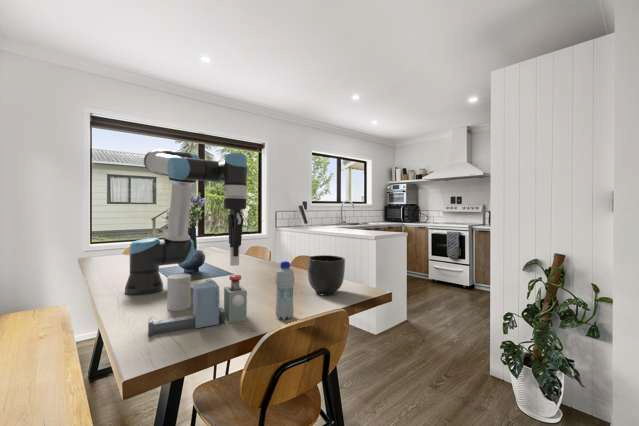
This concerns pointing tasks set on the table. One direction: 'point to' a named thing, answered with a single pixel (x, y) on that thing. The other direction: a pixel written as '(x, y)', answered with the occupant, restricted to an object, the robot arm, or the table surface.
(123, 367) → the table surface
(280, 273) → the bottle
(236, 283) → the plunger
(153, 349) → the table surface
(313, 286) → the planter
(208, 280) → the frog figurine
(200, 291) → the carriage
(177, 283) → the cup
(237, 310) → the cabinet
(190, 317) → the rail
